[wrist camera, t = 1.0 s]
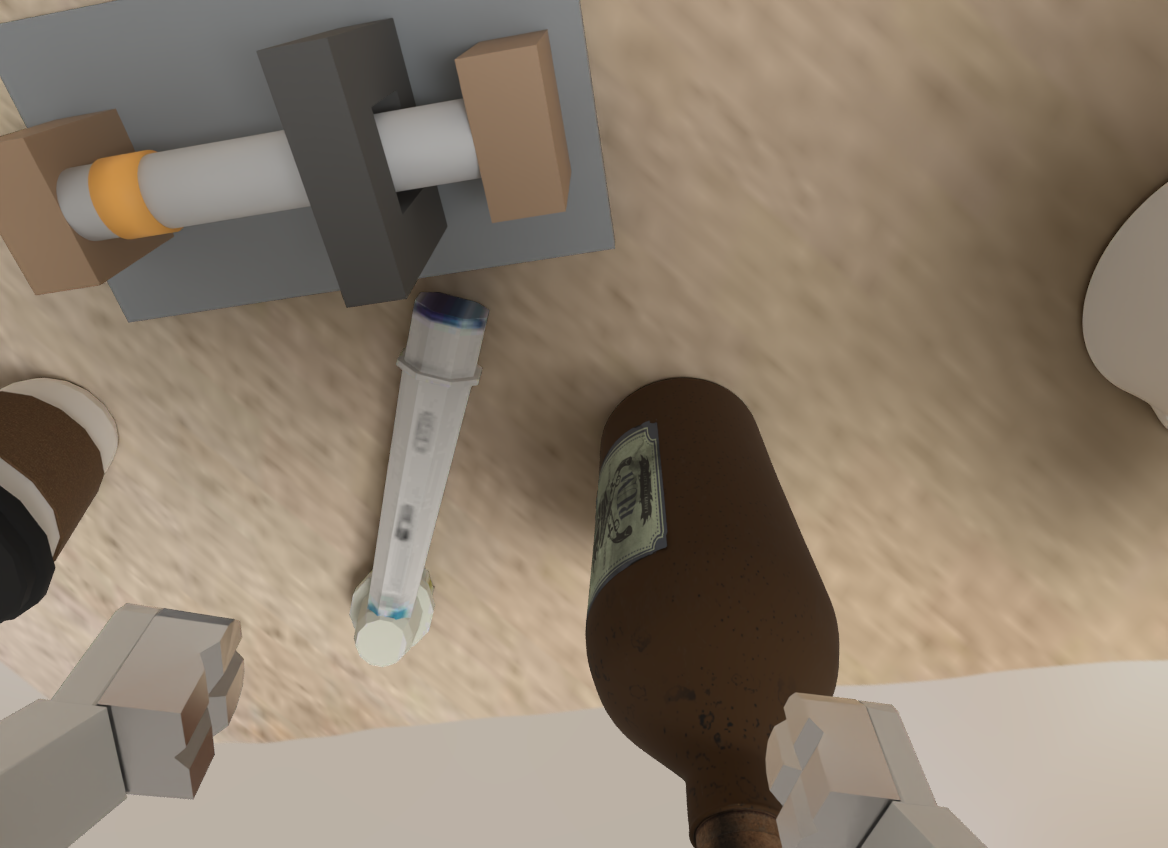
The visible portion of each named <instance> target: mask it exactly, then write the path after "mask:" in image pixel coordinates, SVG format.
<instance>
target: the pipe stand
mask: <svg viewBox="0 0 1168 848" xmlns="http://www.w3.org/2000/svg"><path fill="white" fill-rule="evenodd" d="M389 18H393V20H394V23H395V27H396V31H397V35H398V39H399V43H400V46H401V50H402V54H403V58H404V62H405V65H406V69H407V73H408V77H409V81H410V85H411V88H412V92H413V96H414V100H415V104H416V107H411V108H406V109H400V110H394V111H389V112H383V113H377V114H373V115H374V118H375V122H376V125H377V129H378V132H379V135H380V139H381V142H382V146H383V149H384V153H385V156H386V159H387V163H388V166H389V170H390V173H391V177H392V180H393V184H394V187H395V190H396V192H399V191H405V190H411V189H417V188H423V187H429V186H435V185H437V188H438V192H439V195H440V199H441V203H442V207H443V211H444V214H445V218H446V222H447V226H448V227H447V229H446V230H445V232H444V234H443V236H442V237H441V239H440V241H439V243H438V244H437V246H436V248H435V250H434V252H433V253H432V255H431V257H430V259H429V260H428V262H427V264H426V266H425V267H424V269H423V271H422V273H421V274H420V276H419V278H424V277H431V276H438V275H444V274H451V273H457V272H464V271H470V270H477V269H484V268H490V267H497V266H503V265H510V264H516V263H523V262H530V261H536V260H543V259H549V258H556V257H563V256H569V255H576V254H582V253H589V252H595V251H602V250H609V249H615V238H614V231H613V224H612V218H611V211H610V204H609V197H608V190H607V183H606V176H605V169H604V163H603V156H602V149H601V142H600V135H599V128H598V121H597V114H596V107H595V101H594V94H593V87H592V80H591V73H590V66H589V59H588V52H587V46H586V39H585V32H584V25H583V18H582V11H581V4H580V0H117V1H112V2H107V3H102V4H97V5H92V6H87V7H82V8H77V9H72V10H67V11H62V12H57V13H52V14H47V15H42V16H37V17H32V18H27V19H22V20H17V21H12V22H7V23H2V24H0V77H1V79H2V81H3V83H4V85H5V87H6V88H7V90H8V92H9V94H10V96H11V98H12V100H13V102H14V104H15V106H16V108H17V110H18V111H19V113H20V115H21V117H22V119H23V121H24V123H25V125H26V127H27V128H26V129H23V130H20V131H16V132H13V133H10V134H6V135H3V136H0V235H1V236H2V238H3V240H4V242H5V243H6V245H7V247H8V249H9V250H10V252H11V254H12V255H13V257H14V259H15V261H16V262H17V264H18V266H19V268H20V269H21V271H22V273H23V274H24V276H25V278H26V280H27V281H28V283H29V285H30V286H31V288H32V290H33V292H34V293H35V295H41V294H47V293H53V292H60V291H66V290H72V289H79V288H85V287H91V286H98V285H101V284H103V283H104V282H106V281H107V282H108V284H109V286H110V288H111V290H112V292H113V294H114V296H115V297H116V299H117V301H118V303H119V305H120V307H121V309H122V311H123V313H124V315H125V317H126V319H127V320H128V322H135V321H142V320H148V319H155V318H161V317H168V316H175V315H181V314H188V313H194V312H201V311H207V310H214V309H221V308H227V307H234V306H240V305H247V304H253V303H260V302H267V301H273V300H280V299H286V298H293V297H300V296H306V295H313V294H319V293H326V292H332V291H339V290H340V288H339V285H338V282H337V279H336V276H335V273H334V271H333V268H332V265H331V262H330V259H329V256H328V254H327V251H326V248H325V245H324V242H323V239H322V237H321V234H320V231H319V228H318V225H317V222H316V220H315V217H314V214H313V211H312V208H311V205H310V203H309V200H308V197H307V194H306V191H305V188H304V186H303V183H302V180H301V177H300V174H299V171H298V169H297V166H296V163H295V160H294V157H293V154H292V152H291V149H290V146H289V143H288V140H287V137H286V135H285V132H284V129H283V126H282V123H281V120H280V118H279V115H278V112H277V109H276V106H275V103H274V101H273V98H272V95H271V92H270V89H269V86H268V84H267V81H266V78H265V75H264V72H263V69H262V67H261V64H260V61H259V58H258V55H257V52H256V51H258V50H261V49H265V48H269V47H272V46H276V45H279V44H283V43H287V42H290V41H294V40H297V39H301V38H304V37H308V36H312V35H315V34H319V33H322V32H326V31H330V30H333V29H337V28H341V27H347V26H352V25H357V24H362V23H368V22H373V21H378V20H384V19H389Z"/></svg>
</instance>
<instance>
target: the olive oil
mask: <svg viewBox="0 0 1168 848" xmlns="http://www.w3.org/2000/svg"><path fill="white" fill-rule="evenodd" d="M595 520H596V522H595V534H594V546H593V557H592V568H591V579H590V589H589V599H588V609H587V620H586V649H587V657H588V663H589V667H590V671H591V674H592V678H593V681H594V684H595V686H596V689H597V692H598V695H599V697H600V699H601V702H602V704H603V706H604V708H605V710H606V711H607V713H608V715H609V716H610V718H611V719H612V720H613V722H614V723H615V725H616V726H617V727H618V728H619V729H620V730H621V731H622V733H623V734H624V735H625V736H626V737H627V738H628V739H630V740H631V741H632V742H633V743H634V744H635V745H637V746H638V747H639V748H640V749H642V750H643V751H644V752H646V753H647V754H649V755H650V756H651V757H653V758H654V759H656V760H657V761H658V762H660V763H662V764H663V765H664V766H666V767H667V768H668V769H670V770H671V771H673V772H674V773H675V774H677V775H678V776H679V777H681V778H682V779H683V780H684V781H685V782H686V794H687V811H688V822H689V837H690V841H691V843H692V845H693V847H694V848H782V844H781V840H780V835H779V831H778V826H777V822H776V819H777V817H778V815H779V813H780V811H781V809H782V807H783V806H782V804H781V803H780V802H779V801H778V800H777V798H776V797H775V796H774V795H773V794H772V793H771V791H770V789H769V784H768V779H767V774H766V751H767V744H768V739H769V737H770V735H771V733H772V730H773V728H774V726H776V725H778V724H779V723H781V722H783V721H785V720H786V715H785V711H784V706H785V704H786V702H787V700H788V698H789V697H790V696H791V695H793V694H794V693H796V692H797V693H805V694H814V695H822V696H831V697H833V694H834V690H835V687H836V682H837V677H838V668H839V632H838V625H837V620H836V616H835V612H834V609H833V606H832V603H831V601H830V598H829V596H828V593H827V591H826V589H825V586H824V584H823V582H822V579H821V577H820V575H819V573H818V570H817V568H816V566H815V564H814V561H813V559H812V557H811V555H810V552H809V550H808V548H807V545H806V543H805V541H804V539H803V536H802V534H801V532H800V529H799V527H798V525H797V522H796V520H795V518H794V515H793V513H792V511H791V508H790V506H789V504H788V501H787V499H786V496H785V494H784V492H783V489H782V487H781V485H780V482H779V480H778V478H777V475H776V473H775V470H774V468H773V465H772V463H771V460H770V458H769V455H768V452H767V450H766V447H765V445H764V442H763V439H762V437H761V434H760V432H759V429H758V427H757V424H756V422H755V420H754V417H753V415H752V414H751V412H750V410H749V409H748V408H747V406H746V405H745V404H744V403H743V402H742V401H741V400H740V399H739V398H738V397H737V396H736V395H735V394H733V393H732V392H730V391H729V390H727V389H726V388H724V387H722V386H720V385H717V384H715V383H712V382H709V381H705V380H700V379H692V378H675V379H668V380H663V381H659V382H655V383H652V384H650V385H647V386H645V387H643V388H641V389H639V390H637V391H635V392H634V393H632V394H631V395H629V396H628V397H627V398H626V399H624V400H623V401H622V402H621V403H620V404H619V405H618V406H617V408H616V409H615V410H614V411H613V413H612V414H611V416H610V417H609V419H608V421H607V423H606V426H605V428H604V431H603V435H602V440H601V449H600V468H599V480H598V491H597V500H596V516H595Z"/></svg>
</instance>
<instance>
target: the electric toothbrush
mask: <svg viewBox="0 0 1168 848" xmlns="http://www.w3.org/2000/svg"><path fill="white" fill-rule="evenodd" d="M488 315H489V309H487V308H485V307H484V306H482V305H480V304H479V303H477V302H474V301H470V300H466V299H462V298H459V297H455V296H451V295H447V294H443V293H439V292H420V294H419V295H418V297H417V298H416V299H415V304H414V309H413V314H412V320H411V325H410V330H409V336H408V341H407V346H406V348H404V349H403V351H402V352H401V354H400V355H399V357H398V359H397V363H396V365H397V366H398V367H399V368H401V369H402V375H401V382H400V389H399V395H398V402H397V409H396V416H395V423H394V429H393V436H392V443H391V450H390V456H389V463H388V470H387V477H386V484H385V490H384V497H383V504H382V511H381V517H380V524H379V531H378V538H377V545H376V551H375V558H374V565H373V570H372V571H371V572H370V573H368V575H367V576H366V577H365V579H364V580H363V581H362V582H361V583H360V584H359V585H358V586H357V587H356V589H355V591H354V594H353V598H352V603H351V609H350V614H349V615H350V618H351V620H352V623H353V626H354V628H355V635H354V640H355V644H356V647H357V650H358V652H359V655H360V657H361V658H362V659H364V660H365V661H366V662H367V663H369V664H370V665H374V666H380V667H385V666H389V665H392V664H395V663H396V662H398V661H399V660H400V659H401V658H402V657H403V656H404V655H405V654H406V653H407V652H408V651H409V650H410V648H411V647H412V646H415V645H416V644H417V643H418V642H419V641H420V639H421V638H422V637H423V636H424V635H425V634H426V633H427V632H428V631H429V628H430V624H431V620H432V616H433V612H434V607H435V603H434V599H433V596H432V595H433V591H434V586H432V583H431V580H430V576H429V573H428V572H429V571H428V570H427V569H425V568H424V566H425V562H426V559H427V555H428V551H429V547H430V543H431V540H432V536H433V532H434V528H435V524H436V520H437V517H438V513H439V509H440V505H441V501H442V498H443V494H444V490H445V486H446V482H447V478H448V475H449V471H450V467H451V463H452V459H453V456H454V452H455V448H456V444H457V440H458V436H459V433H460V429H461V425H462V421H463V417H464V414H465V410H466V406H467V402H468V398H469V394H470V391H471V387H472V386H475V385H478V383H479V380H480V376H481V373H482V369H483V368H482V367H481V366H479V365H478V364H477V363H478V358H479V354H480V350H481V345H482V341H483V336H484V332H485V328H486V323H487V319H488Z"/></svg>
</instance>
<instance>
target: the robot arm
mask: <svg viewBox="0 0 1168 848" xmlns="http://www.w3.org/2000/svg"><path fill="white" fill-rule="evenodd" d="M1083 335H1084V340H1085V344H1086V348H1087V351H1088V353H1089V355H1090V358H1091V360H1092V361H1093V363H1094V365H1095V366H1096V368H1097V369H1098V370H1099V372H1100V373H1101V374H1102V375H1103V376H1104V377H1105V378H1106V379H1107V380H1109V381H1110V382H1111V383H1112V384H1114V385H1115V386H1117V387H1118V388H1120V389H1122V390H1124V391H1126V392H1128V393H1130V394H1132V395H1134V396H1136V397H1138V398H1140V399H1142V400H1144V401H1146V402H1147V403H1149V404H1150V405H1151V407H1152V408H1153V410H1154V412H1155V413H1156V415H1157V417H1158V418H1159V420H1160V421H1161V423H1162V424H1163V425H1164V426H1165V427H1166V428H1167V429H1168V182H1167V183H1166V184H1165V185H1163V186H1162V187H1161V188H1160V189H1158V190H1157V191H1156V192H1155V193H1154V194H1153V195H1151V196H1150V197H1149V198H1148V199H1147V200H1146V201H1145V202H1144V203H1143V204H1142V205H1141V206H1140V207H1139V208H1138V209H1137V210H1136V211H1135V212H1134V213H1133V214H1132V215H1131V216H1130V217H1129V219H1128V220H1127V221H1126V222H1125V223H1124V224H1123V226H1122V227H1121V228H1120V229H1119V231H1118V232H1117V233H1116V235H1115V236H1114V238H1113V239H1112V240H1111V242H1110V243H1109V245H1108V246H1107V248H1106V250H1105V251H1104V253H1103V255H1102V257H1101V258H1100V260H1099V262H1098V264H1097V266H1096V268H1095V271H1094V273H1093V275H1092V278H1091V280H1090V283H1089V286H1088V290H1087V293H1086V297H1085V302H1084V309H1083ZM241 639H242V632H241V624H240V621H238V620H235V619H229V618H223V617H216V616H210V615H204V614H197V613H191V612H185V611H178V610H172V609H166V608H157V607H150V606H144V605H137V604H130V603H126V604H125V605H124V606H122V607H121V608H119V609H118V610H117V611H115V612H114V614H113V615H112V617H111V618H110V619H109V621H108V622H107V623H106V625H105V626H104V628H103V629H102V630H101V632H100V633H99V634H98V636H97V637H96V639H95V640H94V641H93V643H92V644H91V645H90V647H89V648H88V649H87V651H86V652H85V654H84V655H83V656H82V658H81V659H80V660H79V662H78V663H77V665H76V666H75V667H74V669H73V670H72V671H71V673H70V674H69V676H68V677H67V678H66V680H65V681H64V682H63V684H62V685H61V687H60V688H59V689H58V691H57V692H56V693H55V695H54V696H53V698H52V699H51V700H46V699H38V700H36V701H34V702H33V703H31V704H29V705H27V706H25V707H24V708H22V709H20V710H19V711H17V712H15V713H13V714H11V715H10V716H8V717H6V718H4V719H3V720H1V721H0V848H68V847H69V846H70V845H71V844H72V843H74V842H75V841H76V840H77V839H78V838H80V837H81V836H82V835H83V834H85V833H86V832H87V831H88V830H89V829H90V828H92V827H93V826H94V825H95V824H96V823H97V822H99V821H100V820H101V819H102V818H104V817H105V816H106V815H107V814H108V813H110V812H111V811H112V810H113V809H114V808H115V807H117V806H118V805H119V804H120V803H122V802H123V801H124V800H125V799H126V798H127V796H126V794H133V795H146V796H157V797H170V798H183V799H194V797H195V795H196V793H197V791H198V789H199V786H200V784H201V782H202V780H203V778H204V776H205V774H206V772H207V770H208V768H209V765H210V763H211V761H212V759H213V757H214V755H215V753H214V742H213V736H214V735H216V734H217V733H219V732H220V731H222V730H223V729H224V728H226V727H227V726H228V725H229V723H230V721H231V719H232V716H233V714H234V712H235V710H236V707H237V704H238V701H239V697H240V694H241V690H242V687H243V679H244V659H243V658H242V656H241V655H240V654H239V653H238V652H237V651H236V649H237V647H238V645H239V643H240V641H241ZM784 711H785V715H786V720H785V721H783V722H781V723H779V724H778V725H776V726H774V728H773V730H772V733H771V735H770V737H769V739H768V744H767V751H766V774H767V779H768V784H769V789H770V791H771V793H772V794H773V795H774V796H775V797H776V798H777V800H778V801H779V802H780V803H781V804H782V806H783V807H782V809H781V811H780V813H779V815H778V817H777V819H776V822H777V826H778V831H779V835H780V840H781V844H782V848H987V847H986V846H985V845H984V844H983V843H982V842H981V841H980V840H979V839H978V838H977V837H976V836H975V835H974V834H973V833H972V832H971V831H970V830H969V829H968V828H967V827H966V826H965V825H964V824H963V823H962V822H961V821H960V820H959V819H958V818H957V817H956V816H955V815H954V814H953V813H952V812H951V811H950V810H949V809H948V808H945V807H939V806H937V803H936V801H935V798H934V796H933V794H932V791H931V789H930V787H929V784H928V782H927V779H926V777H925V775H924V772H923V770H922V767H921V765H920V763H919V760H918V758H917V756H916V753H915V751H914V748H913V746H912V743H911V741H910V739H909V736H908V734H907V732H906V729H905V727H904V724H903V722H902V720H901V717H900V715H899V713H898V711H897V710H896V709H895V708H894V706H893V705H890V704H882V703H874V702H866V701H857V700H855V699H848V698H839V697H831V696H822V695H814V694H805V693H797V692H796V693H794V694H793V695H791V696H790V697H789V698H788V700H787V702H786V704H785V706H784Z"/></svg>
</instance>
